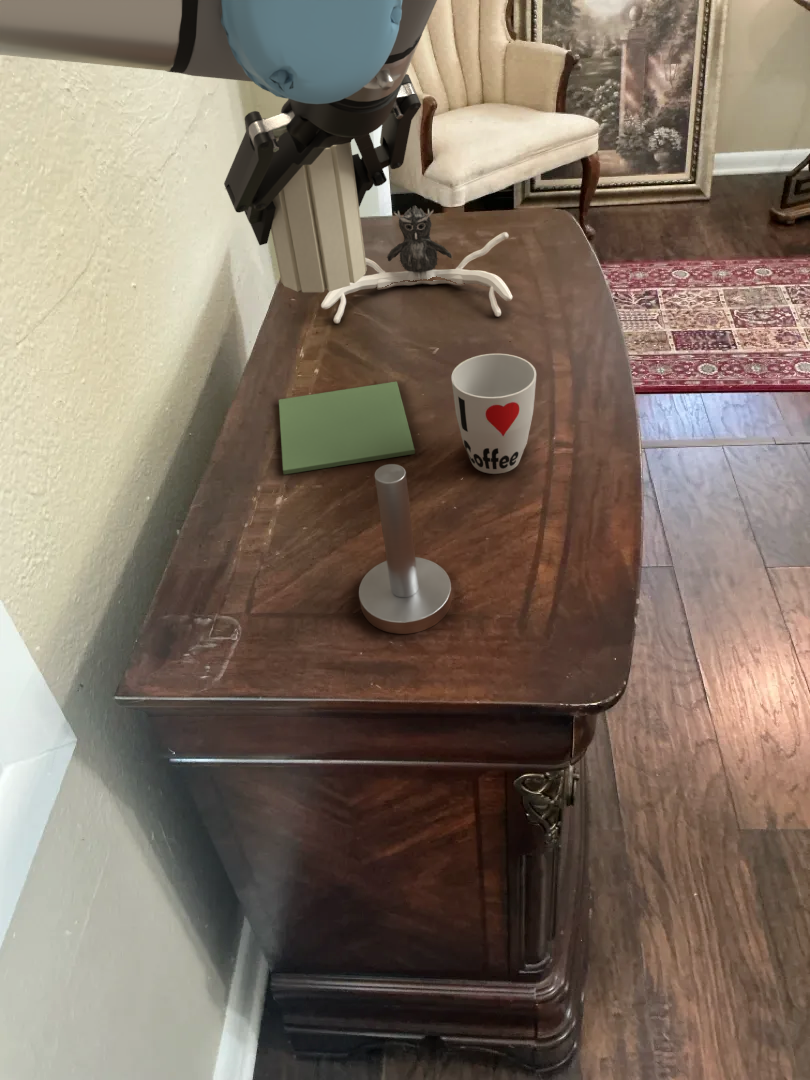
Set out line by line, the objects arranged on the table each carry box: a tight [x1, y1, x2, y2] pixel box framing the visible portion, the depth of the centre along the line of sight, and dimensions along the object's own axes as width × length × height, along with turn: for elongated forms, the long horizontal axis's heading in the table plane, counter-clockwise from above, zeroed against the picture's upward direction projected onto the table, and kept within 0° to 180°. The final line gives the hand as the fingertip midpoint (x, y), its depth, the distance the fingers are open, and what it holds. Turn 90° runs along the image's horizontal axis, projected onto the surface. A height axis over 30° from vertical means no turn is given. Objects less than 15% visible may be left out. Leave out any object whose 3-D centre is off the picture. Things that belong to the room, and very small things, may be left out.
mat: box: [278, 381, 416, 475], centre depth 96 cm, size 14×14×1 cm
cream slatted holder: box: [270, 141, 368, 293], centre depth 77 cm, size 8×8×12 cm
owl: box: [320, 205, 514, 325], centre depth 114 cm, size 25×14×13 cm, turn 85°
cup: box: [451, 353, 537, 475], centre depth 86 cm, size 8×8×10 cm
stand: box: [358, 463, 453, 635], centre depth 71 cm, size 8×8×14 cm
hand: (302, 218), depth 80 cm, fingers closed on cream slatted holder, 8 cm apart
